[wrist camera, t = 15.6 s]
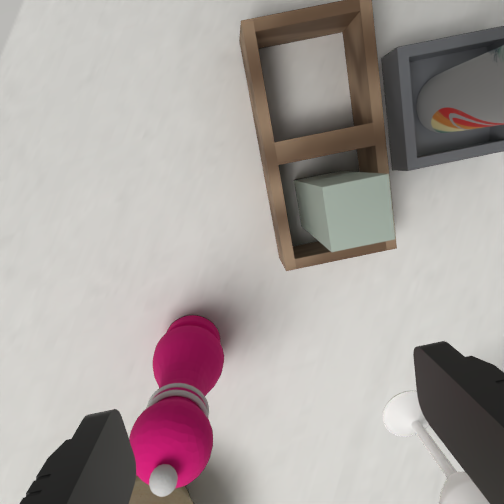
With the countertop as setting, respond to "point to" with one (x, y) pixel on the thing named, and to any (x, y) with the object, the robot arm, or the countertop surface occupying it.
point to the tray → (406, 93)
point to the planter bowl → (145, 500)
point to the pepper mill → (178, 407)
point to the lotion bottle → (465, 95)
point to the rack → (357, 137)
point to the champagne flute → (430, 448)
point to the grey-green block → (346, 208)
